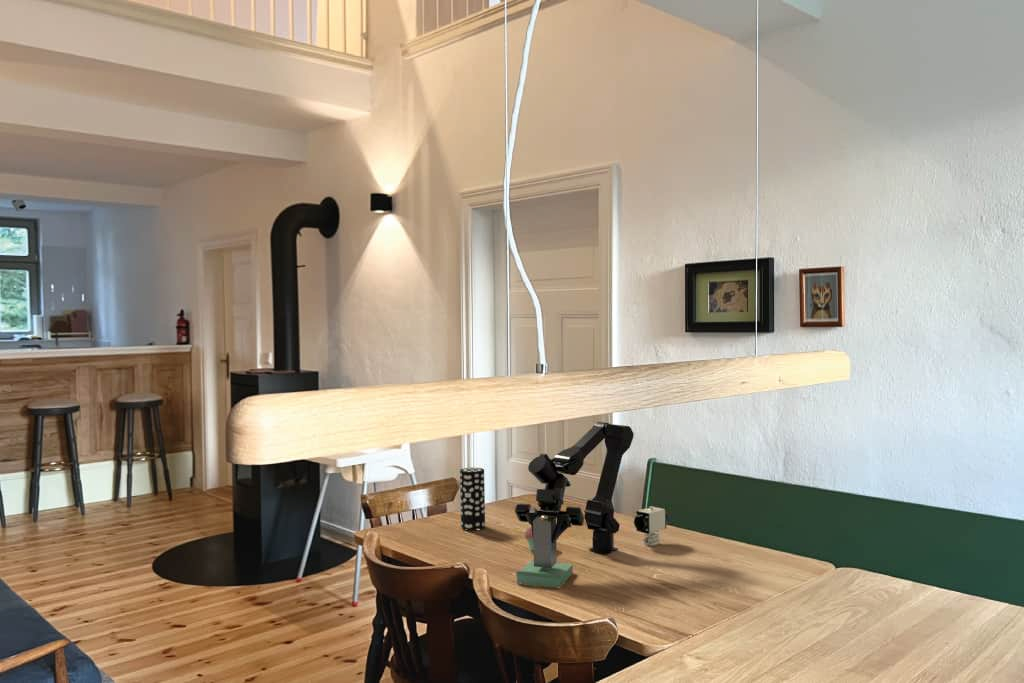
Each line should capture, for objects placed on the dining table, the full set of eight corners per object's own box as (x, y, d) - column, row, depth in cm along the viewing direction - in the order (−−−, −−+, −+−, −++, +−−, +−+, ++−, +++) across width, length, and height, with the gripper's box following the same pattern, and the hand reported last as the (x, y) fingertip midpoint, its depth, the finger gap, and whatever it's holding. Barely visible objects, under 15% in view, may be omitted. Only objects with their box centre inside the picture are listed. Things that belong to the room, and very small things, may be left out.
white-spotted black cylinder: (457, 526, 267) (456, 469, 266) (479, 523, 270) (478, 466, 270) (466, 532, 259) (465, 473, 259) (489, 529, 263) (487, 470, 262)
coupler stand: (531, 569, 219) (531, 557, 219) (572, 573, 215) (572, 560, 215) (516, 583, 206) (516, 571, 206) (560, 588, 202) (559, 575, 202)
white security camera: (669, 542, 243) (669, 504, 243) (645, 550, 235) (644, 510, 235) (655, 539, 247) (655, 501, 247) (631, 546, 240) (631, 507, 239)
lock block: (539, 560, 214) (538, 513, 213) (556, 562, 212) (555, 514, 212) (533, 566, 209) (532, 517, 209) (551, 568, 207) (550, 518, 207)
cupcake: (529, 554, 233) (528, 515, 233) (521, 546, 241) (520, 508, 241) (555, 551, 235) (555, 512, 235) (547, 544, 243) (546, 506, 243)
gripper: (516, 474, 217) (503, 523, 207) (580, 478, 211) (570, 528, 200) (525, 496, 224) (513, 544, 214) (588, 500, 218) (579, 550, 208)
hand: (543, 541), depth 209 cm, fingers closed on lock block, 5 cm apart
